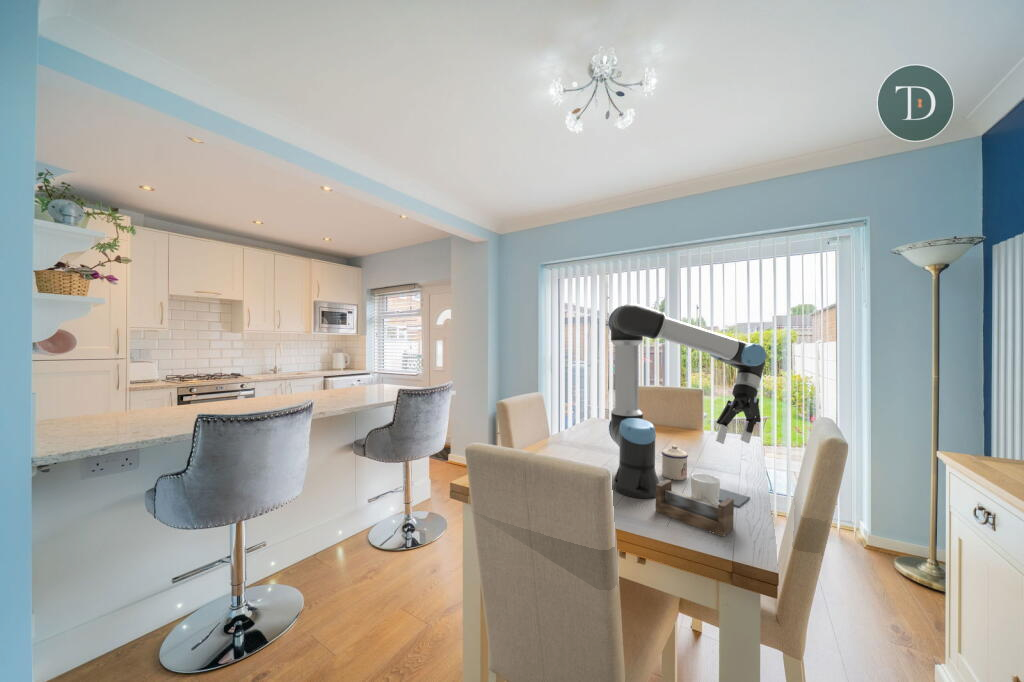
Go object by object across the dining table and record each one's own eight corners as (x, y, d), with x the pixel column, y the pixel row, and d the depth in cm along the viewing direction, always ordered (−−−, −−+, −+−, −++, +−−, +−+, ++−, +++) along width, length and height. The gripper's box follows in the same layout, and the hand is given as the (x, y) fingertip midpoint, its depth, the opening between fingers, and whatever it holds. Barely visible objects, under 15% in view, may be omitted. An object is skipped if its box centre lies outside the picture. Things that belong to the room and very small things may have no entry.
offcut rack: (655, 511, 113) (655, 484, 113) (666, 504, 118) (667, 479, 118) (723, 536, 99) (724, 506, 99) (733, 528, 103) (733, 499, 103)
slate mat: (699, 495, 125) (699, 493, 125) (711, 487, 132) (711, 485, 132) (739, 507, 116) (739, 505, 116) (749, 498, 123) (749, 497, 123)
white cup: (707, 519, 109) (707, 484, 108) (684, 507, 116) (685, 475, 116) (725, 514, 112) (726, 480, 112) (702, 503, 119) (703, 472, 119)
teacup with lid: (686, 482, 136) (687, 450, 136) (660, 477, 140) (660, 447, 140) (688, 472, 147) (688, 442, 147) (663, 468, 151) (664, 439, 151)
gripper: (781, 386, 125) (767, 446, 119) (733, 396, 149) (719, 446, 143) (761, 376, 125) (745, 436, 119) (715, 388, 149) (701, 438, 143)
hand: (731, 442), depth 131 cm, fingers open, 13 cm apart
